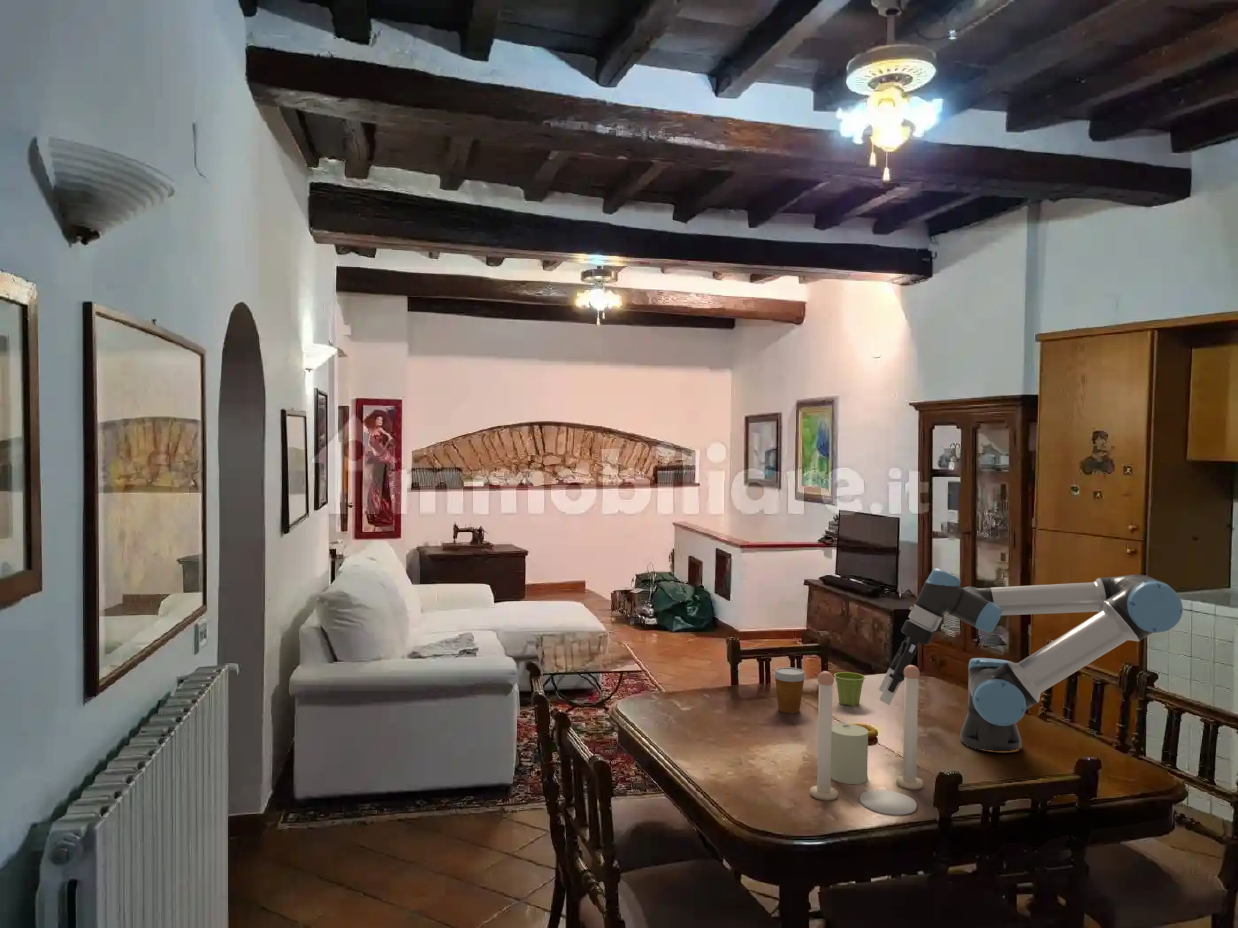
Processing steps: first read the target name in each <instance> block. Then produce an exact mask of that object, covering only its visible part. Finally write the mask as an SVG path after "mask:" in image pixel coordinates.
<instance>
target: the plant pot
mask: <svg viewBox="0 0 1238 928" xmlns="http://www.w3.org/2000/svg"><path fill="white" fill-rule="evenodd" d="M833 677H834V680H835V681H836V687H837V694H838V703H839V704H840V705H844V706H845V705H847V706H850V707H855V706H859V704H860V700H861V695H862V694H861V693H862V688H863V684H864V680H865V679H866V677H865V675H863V674H860V673H857V672H850V671H844V672H843V671H840V672H836V673H834V674H833Z"/></svg>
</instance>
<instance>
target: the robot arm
mask: <svg viewBox="0 0 1238 928" xmlns="http://www.w3.org/2000/svg"><path fill="white" fill-rule="evenodd" d="M961 583H962V581H961V579H960V577H957V576H955V575H953V574H952V573H949V572H947V571H945V570H943V569H941V568H937V567H936V568H933V569H932V570H931V572H930V574H929V575H928V578H927V579H926V580H925V582H924V583H923V586H922V588H921V590H920V593H919V594H918V597H917V598H916V600H915V602H914V605H913V606H911V605H910V607H909V610H910V612H909V614H908V618H909V619H906V620H905V621H904V624H903V625H902V627H901V630H900V632H901V633H902V634H903V635H905V637H904V640H902V641H901V644H900V646H899V649H898V651H897V652H896V654H895V655H894V657H893V659H892V660H891V662H890V664H889V668H888V669H887V672H886V673H885V676H884V677H883V680H882V681H881V684H880V686H879V687H878V691H880V692H882V693H881V695H880V697H879V699H878V700H879V701H880V702H883V703H885V704H886V705H888V706H890V705H891V703H892V701H893V699H894V697H895V695H896V693H897V692H898V689H899V687H900V686H901V684H902V682H905V676H904V669H905V667H906V666H908V665H912V664H911V663H912V662H913V660H914V658H915V656H916V655H917V653H918V652H919V651H918V650H919V647H918V643H920V644H921V645H924V646H927V645H929V644H930V642H931V640H932V638H933V636H934V632H935V631H937V630H938V627H939V625H940V624H941V622H942V619H943V617H944V615H945V614H946V613H947V614H948V615H950V616H953V617H954V618H957V619H959V620H960V621H962V622H964V623H966V624H969V625H970V626H972V627H974V628H975V629H977V630H981V631H983V632H985V633H991V632H993V631H994V630H995V628H996V627H997V625H998V623H999V621H1000V619H1001V617H1002V616H1017V615H1018V616H1020V615H1043V614H1047V615H1048V614H1069V613H1072V614H1073V613H1094V612H1095V614H1094V615H1092V616H1091V617H1090V618H1088V619H1086V620H1085V621H1082V622H1081V623H1080V624H1078V625H1076V626H1075V627H1073V628H1071V629H1069V630H1068V631H1067V632H1065V633H1064V634H1062V635H1060V636H1059V637H1057V638H1056V639H1054V640H1053V641H1051V642H1049V643H1048V644H1046V645H1045V646H1043V647H1041V648H1039V649H1038V650H1037V651H1035V652H1033V653H1032V654H1030V655H1029V656H1027V657H1025V658H1024V659H1022V660H1021V661H1019V662H1013V661H1010V660H1006V659H998V658H987V657H973V658H970V659H969V661H968V667H967V670H968V682H967V683H968V686H967V689H968V690H967V691H968V693H967V714H966V717H965V719H964V722H963V725H962V727H961V729H960V734H959V735H960V736H959V737H960V738H959V739H960V740H961V741H960V742H961V743H962V742H963V743H964V744H966V745H968V746H969V747H968V746H967V747H968V748H970V747H972V748H971V749H973V748H976V749H985V750H993V751H1011V750H1016V749H1020V748H1021V749H1022V737H1021V735H1020V731H1019V729H1018V725H1017V723H1018V722H1019V721H1020V720H1021V719H1022V718H1023V717H1024V715H1025V714H1026V711H1027V710H1028V709H1030V708H1031V707H1033V706H1035V705H1037V704H1038V703H1039V702H1040V698H1041V695H1042V693H1043V692H1045V691H1046V690H1048V689H1050V688H1051V687H1053V686H1055V685H1056V684H1059V683H1060V682H1062V681H1063V680H1065V679H1066V678H1068V677H1069V676H1071V675H1073V674H1074V673H1076V672H1078V671H1079V670H1081V669H1083V668H1084V667H1086V666H1087V665H1089V664H1091V663H1093V662H1094V661H1096V660H1097V659H1098V658H1100V657H1102V656H1103V655H1105V654H1107V653H1109V652H1110V651H1112V650H1114V649H1115V648H1117V647H1118V646H1120V645H1122V644H1124V643H1125V642H1127V641H1132V642H1133V641H1134V642H1140V641H1142V640H1144V639H1146V638H1147V637H1148V636H1150V635H1152V634H1158V633H1163V632H1167V631H1170V630H1171V629H1173V628H1174V627H1176V626H1177V624H1178V623H1180V620H1181V618H1182V615H1183V607H1184V605H1183V602H1182V600H1181V597H1180V596H1179V594H1178V593H1177V592H1176V590H1174V589H1173V588H1172V587H1171V586H1170V585H1169V584H1168V583H1166V582H1163V581H1161V580H1158V579H1155V577H1152V576H1149V575H1145V574H1127V575H1119V576H1118V575H1117V576H1109V577H1097V578H1096V579H1095V580H1094V581H1093V582H1092V581H1091V582H1071V583H1056V584H1036V585H1035V584H1034V585H1017V586H997V587H979V588H977V587H975V586H966V587H965V586H964V587H961ZM1096 612H1097V613H1096ZM963 743H962V744H963ZM964 744H963V745H964ZM966 745H965V746H966ZM976 749H975V750H976Z"/></svg>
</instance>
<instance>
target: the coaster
mask: <svg viewBox="0 0 1238 928" xmlns="http://www.w3.org/2000/svg"><path fill="white" fill-rule="evenodd" d="M859 802H860V803H861V805H862V806H863V807H865V808H867V809H868V810H871V811H873V812H876V813H880V814H884V815H891V816H903V815H910V814H912V813H914V812H916V811H917V802H916V801H915V799H913V798H912V797H910V796H908V795H906V794H904V793H901V792H897V791H892V790H885V789H884V790H883V789H873V790H867V791H865V792H863V793H861V795H860V797H859Z"/></svg>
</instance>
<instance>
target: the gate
mask: <svg viewBox="0 0 1238 928" xmlns="http://www.w3.org/2000/svg"><path fill="white" fill-rule="evenodd" d="M920 675H921V672H920V669H919V668H918V667H917V666H916V665H913V664H910V665H908V666H906V667H905V669H904V676H905V677H904V698H903V699H904V701H903V702H904V705H903V707H904V708H903V711H904V712H903V748H902V749H903V751H902V754H903V755H902V760H903V761H902V762H903V763H902V775H898V776H896V778H895V784H896V785H897V786H899V788H902V789H906V790H921V789H923V788H924V781H923V780H922V779H921V778H920V777H917V765H918V764H917V763H918V762H917V761H918V755H917V753H918V719H919V718H918V713H919V711H918V710H919V707H918V706H919V677H920ZM817 682H818V711H817V714H818V718H817V719H818V722H817V761H816V762H817V770H816V772H817V773H816V777H817V778H816V785H814V786H811V787H810V789H809V790H810V791H809V794H810V796H811V797H812V798H814V799H815V800H816V799H817V800H820V801H833V800H834V801H835V800H836V799H837V798H838V790H837V789H836V788H834V787H832V786H831V785H832V784H831V781H832V779H831V737H832V725H833V723H832V722H833V685H834V682H835V677H834V674H832V673H831V672H829V671H827V670H823V671H821V672H820V673H819V674H818V675H817Z"/></svg>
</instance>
